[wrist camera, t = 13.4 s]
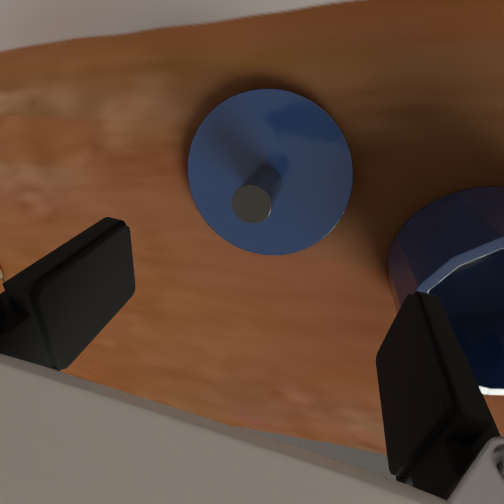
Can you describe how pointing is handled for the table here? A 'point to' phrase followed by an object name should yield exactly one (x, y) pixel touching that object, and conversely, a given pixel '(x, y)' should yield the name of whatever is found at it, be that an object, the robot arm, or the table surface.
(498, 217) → the pot
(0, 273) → the pencil
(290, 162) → the lid
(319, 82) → the table surface
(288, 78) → the table surface
